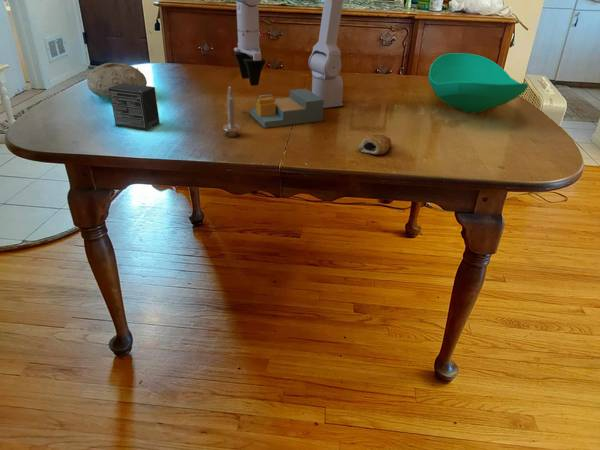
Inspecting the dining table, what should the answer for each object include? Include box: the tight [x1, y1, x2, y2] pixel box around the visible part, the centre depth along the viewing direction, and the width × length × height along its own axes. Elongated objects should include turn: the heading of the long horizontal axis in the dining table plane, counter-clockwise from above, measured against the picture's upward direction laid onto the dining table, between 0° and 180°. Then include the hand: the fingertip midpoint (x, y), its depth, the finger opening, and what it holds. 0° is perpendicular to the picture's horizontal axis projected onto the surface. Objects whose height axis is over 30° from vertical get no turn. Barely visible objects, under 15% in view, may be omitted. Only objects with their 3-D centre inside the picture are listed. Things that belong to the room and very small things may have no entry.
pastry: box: [358, 134, 392, 156], centre depth 115 cm, size 9×7×4 cm
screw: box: [222, 85, 242, 138], centre depth 118 cm, size 13×5×5 cm
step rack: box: [250, 88, 324, 129], centre depth 133 cm, size 18×12×6 cm, turn 114°
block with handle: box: [255, 93, 276, 117], centre depth 130 cm, size 5×4×6 cm
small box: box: [109, 83, 161, 132], centre depth 123 cm, size 11×6×10 cm, turn 71°
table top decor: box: [428, 52, 529, 114], centre depth 143 cm, size 40×28×13 cm
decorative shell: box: [86, 61, 148, 99], centre depth 144 cm, size 18×18×10 cm
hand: (249, 81), depth 129 cm, fingers open, 7 cm apart
